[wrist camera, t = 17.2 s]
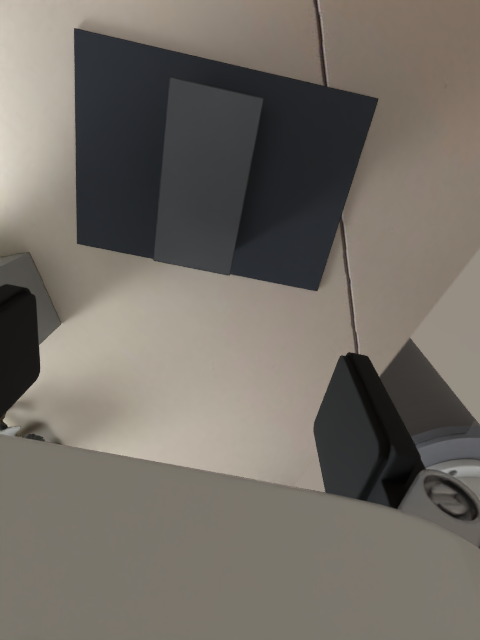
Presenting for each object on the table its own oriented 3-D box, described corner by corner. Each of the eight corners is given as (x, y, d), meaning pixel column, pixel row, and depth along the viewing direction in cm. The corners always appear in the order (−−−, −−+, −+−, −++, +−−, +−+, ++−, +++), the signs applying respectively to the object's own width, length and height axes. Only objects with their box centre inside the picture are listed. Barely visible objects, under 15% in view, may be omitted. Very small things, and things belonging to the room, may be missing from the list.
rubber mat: (377, 99, 24) (378, 98, 23) (316, 290, 30) (317, 291, 30) (76, 29, 23) (73, 27, 22) (78, 242, 29) (76, 243, 29)
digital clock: (186, 90, 24) (166, 76, 18) (261, 108, 24) (264, 98, 19) (170, 237, 28) (150, 260, 23) (234, 250, 28) (229, 276, 23)
